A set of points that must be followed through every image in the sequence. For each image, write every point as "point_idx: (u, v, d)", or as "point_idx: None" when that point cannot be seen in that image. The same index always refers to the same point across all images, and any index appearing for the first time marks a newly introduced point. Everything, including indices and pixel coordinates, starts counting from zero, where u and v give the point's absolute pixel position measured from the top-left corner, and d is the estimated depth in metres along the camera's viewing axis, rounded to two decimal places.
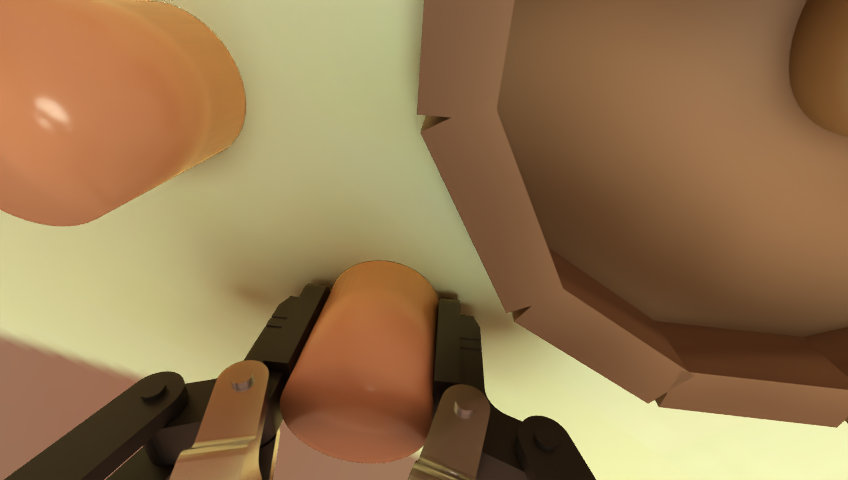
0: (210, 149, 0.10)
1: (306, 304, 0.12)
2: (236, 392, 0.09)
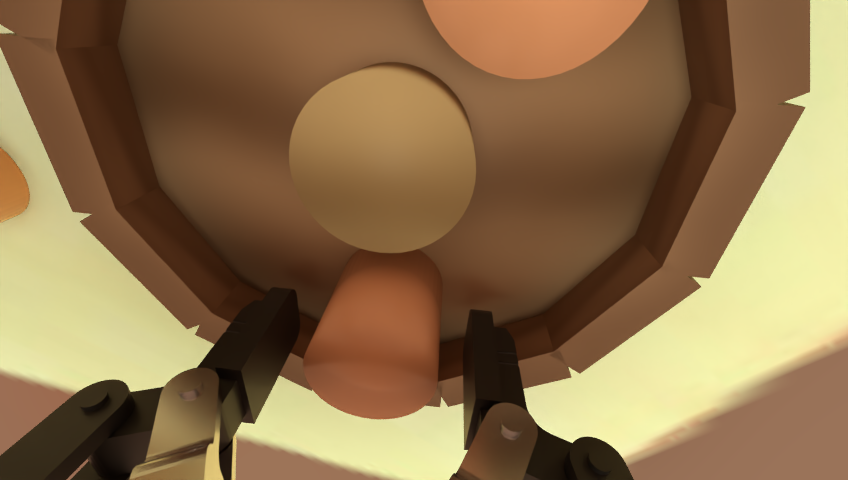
0: None
1: (268, 308, 0.12)
2: (182, 401, 0.09)
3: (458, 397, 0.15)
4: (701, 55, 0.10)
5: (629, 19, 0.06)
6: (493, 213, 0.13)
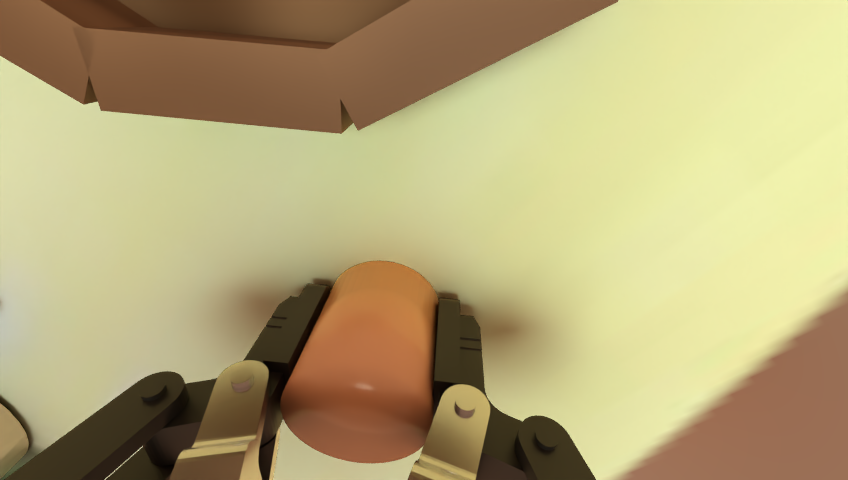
0: (416, 301, 0.12)
1: (306, 304, 0.12)
2: (236, 392, 0.09)
3: None
4: None
5: None
6: None
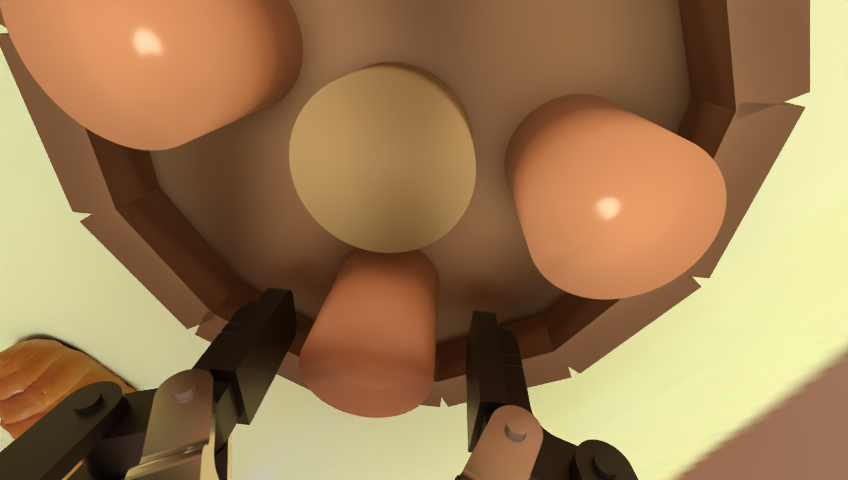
0: (419, 274, 0.13)
1: (264, 309, 0.11)
2: (175, 403, 0.08)
3: (790, 73, 0.09)
4: None
5: None
6: (471, 27, 0.10)
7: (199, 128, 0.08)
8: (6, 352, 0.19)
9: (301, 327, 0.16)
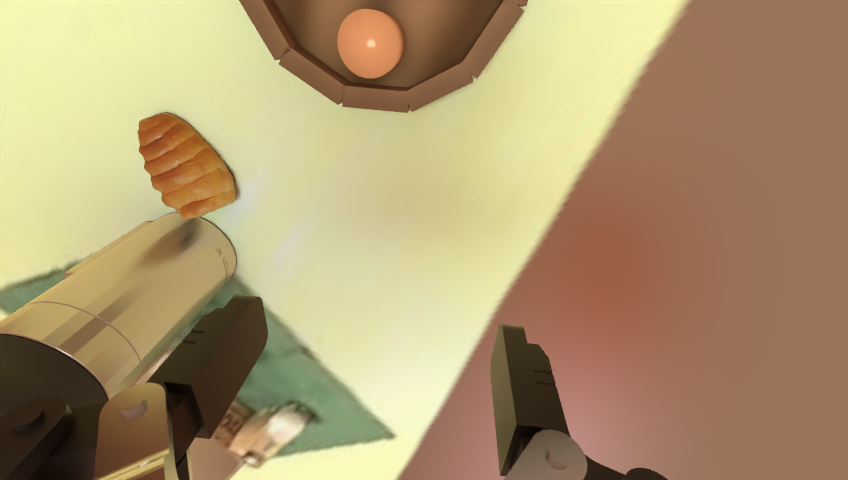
0: (394, 18, 0.26)
1: (228, 318, 0.11)
2: (122, 419, 0.08)
3: None
4: None
5: None
6: None
7: None
8: (150, 117, 0.32)
9: (332, 71, 0.29)
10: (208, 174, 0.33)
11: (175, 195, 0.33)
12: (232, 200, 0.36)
